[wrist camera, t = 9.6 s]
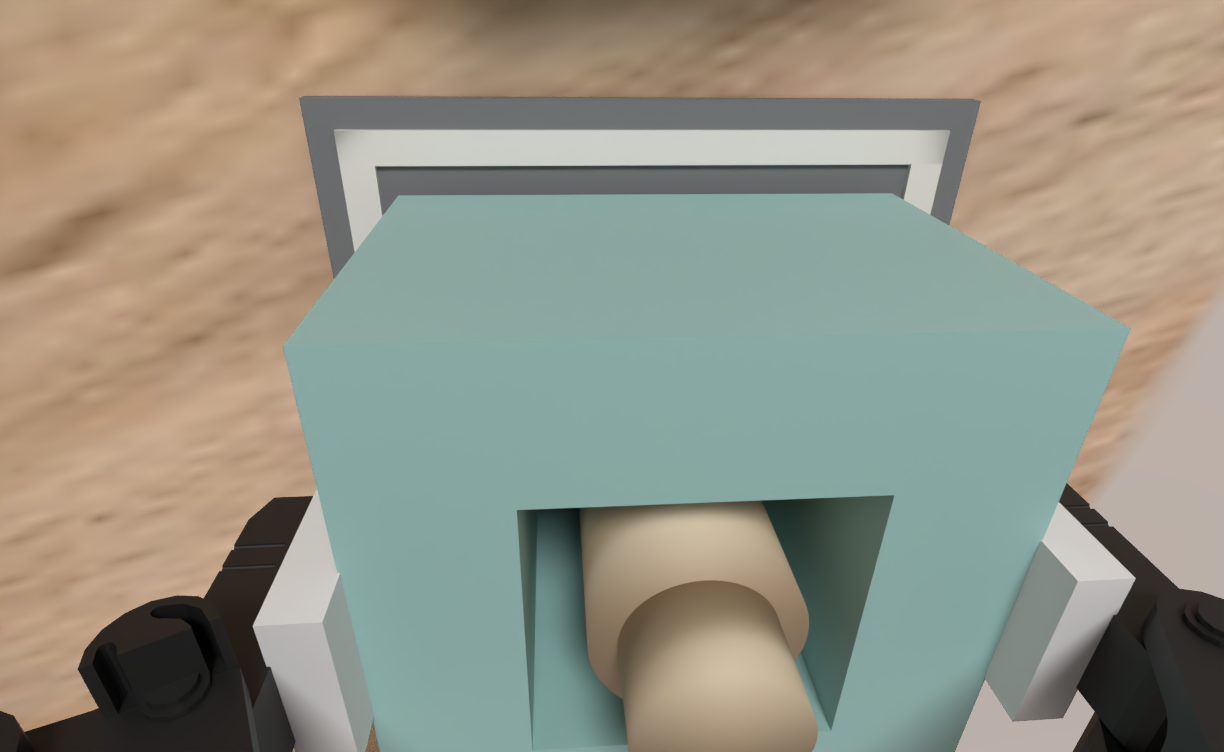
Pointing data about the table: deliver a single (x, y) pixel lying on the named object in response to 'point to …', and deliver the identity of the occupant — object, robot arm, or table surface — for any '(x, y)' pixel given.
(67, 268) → the table surface
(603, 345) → the block with square hole
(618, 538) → the post
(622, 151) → the mat
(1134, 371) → the table surface
